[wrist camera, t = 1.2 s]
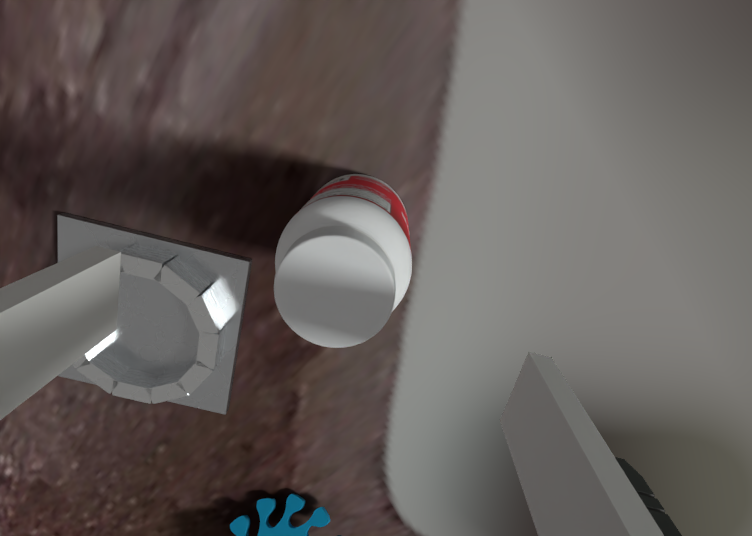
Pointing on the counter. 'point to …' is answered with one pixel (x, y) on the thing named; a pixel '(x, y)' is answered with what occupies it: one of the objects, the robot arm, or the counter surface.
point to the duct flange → (164, 317)
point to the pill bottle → (343, 262)
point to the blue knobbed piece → (283, 531)
